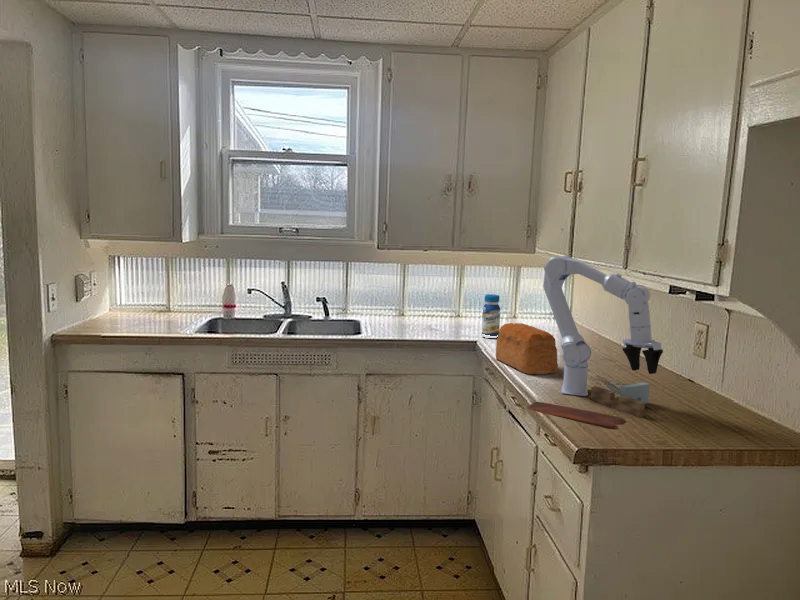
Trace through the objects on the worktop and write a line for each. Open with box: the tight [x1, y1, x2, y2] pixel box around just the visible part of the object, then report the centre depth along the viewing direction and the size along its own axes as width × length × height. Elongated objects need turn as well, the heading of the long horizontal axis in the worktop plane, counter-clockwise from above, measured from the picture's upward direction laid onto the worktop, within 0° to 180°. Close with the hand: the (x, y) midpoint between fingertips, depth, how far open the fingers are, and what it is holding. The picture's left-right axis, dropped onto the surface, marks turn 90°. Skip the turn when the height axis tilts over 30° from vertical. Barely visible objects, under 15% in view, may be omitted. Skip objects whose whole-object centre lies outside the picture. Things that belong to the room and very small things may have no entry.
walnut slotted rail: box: [590, 385, 646, 418], centre depth 173 cm, size 18×2×4 cm, turn 28°
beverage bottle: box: [481, 293, 501, 336], centre depth 273 cm, size 8×8×20 cm
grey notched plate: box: [619, 382, 650, 405], centre depth 176 cm, size 10×2×6 cm, turn 118°
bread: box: [495, 322, 559, 375], centre depth 220 cm, size 14×27×15 cm, turn 18°
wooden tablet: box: [527, 401, 626, 430], centre depth 166 cm, size 27×10×2 cm, turn 52°
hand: (643, 371), depth 174 cm, fingers open, 7 cm apart
